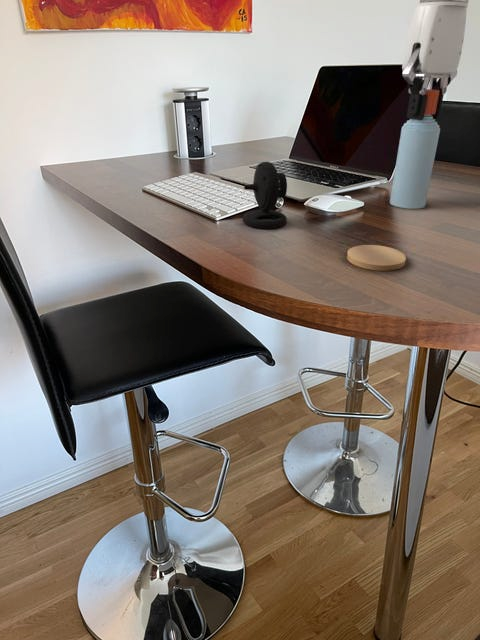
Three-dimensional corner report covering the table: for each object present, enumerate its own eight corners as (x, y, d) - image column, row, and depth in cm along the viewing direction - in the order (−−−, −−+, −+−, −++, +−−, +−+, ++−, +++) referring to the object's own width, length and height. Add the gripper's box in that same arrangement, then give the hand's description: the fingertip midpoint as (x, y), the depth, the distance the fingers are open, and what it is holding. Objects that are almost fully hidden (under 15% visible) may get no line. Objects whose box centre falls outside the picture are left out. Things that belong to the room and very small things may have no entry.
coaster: (373, 246, 75) (374, 241, 75) (417, 263, 69) (418, 257, 69) (335, 256, 71) (335, 251, 71) (378, 275, 65) (378, 269, 65)
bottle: (404, 198, 101) (423, 92, 91) (432, 205, 96) (454, 95, 87) (382, 202, 97) (399, 93, 88) (410, 210, 93) (431, 96, 83)
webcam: (293, 228, 82) (298, 165, 77) (250, 231, 80) (252, 167, 75) (277, 214, 89) (280, 156, 84) (236, 217, 87) (237, 158, 82)
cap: (425, 115, 86) (430, 91, 85) (407, 112, 89) (411, 89, 87) (439, 113, 88) (444, 90, 87) (421, 111, 91) (425, 88, 89)
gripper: (454, 1, 87) (433, 114, 96) (392, -6, 79) (375, 118, 88) (494, -1, 82) (468, 118, 91) (432, -9, 74) (410, 123, 82)
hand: (422, 117), depth 89 cm, fingers closed on cap, 3 cm apart
